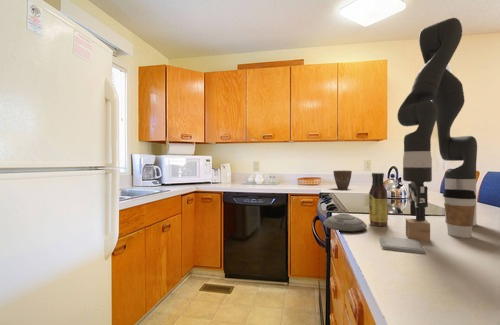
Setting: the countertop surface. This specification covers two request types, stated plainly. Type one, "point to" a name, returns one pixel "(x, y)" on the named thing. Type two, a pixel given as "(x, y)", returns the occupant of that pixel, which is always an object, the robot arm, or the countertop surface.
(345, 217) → the flying saucer
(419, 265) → the countertop surface
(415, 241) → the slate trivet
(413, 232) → the walnut cube
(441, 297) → the countertop surface
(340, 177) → the plant pot
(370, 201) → the sauce bottle
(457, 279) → the countertop surface
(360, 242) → the countertop surface
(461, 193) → the coffee cup
